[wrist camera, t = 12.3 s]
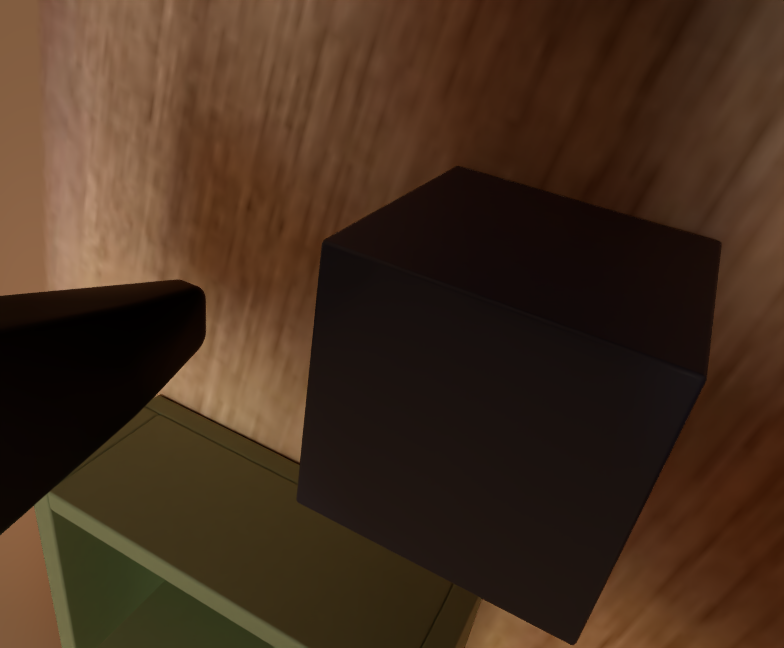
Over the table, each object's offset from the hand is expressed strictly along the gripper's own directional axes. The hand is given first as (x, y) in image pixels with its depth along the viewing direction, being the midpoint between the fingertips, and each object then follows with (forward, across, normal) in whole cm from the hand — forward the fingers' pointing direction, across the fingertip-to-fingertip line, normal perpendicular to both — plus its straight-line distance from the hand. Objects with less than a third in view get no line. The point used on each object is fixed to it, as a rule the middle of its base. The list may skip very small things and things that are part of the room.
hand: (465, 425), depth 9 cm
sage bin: (+4, +4, +12) cm, 13 cm away
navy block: (+4, 0, 0) cm, 4 cm away
